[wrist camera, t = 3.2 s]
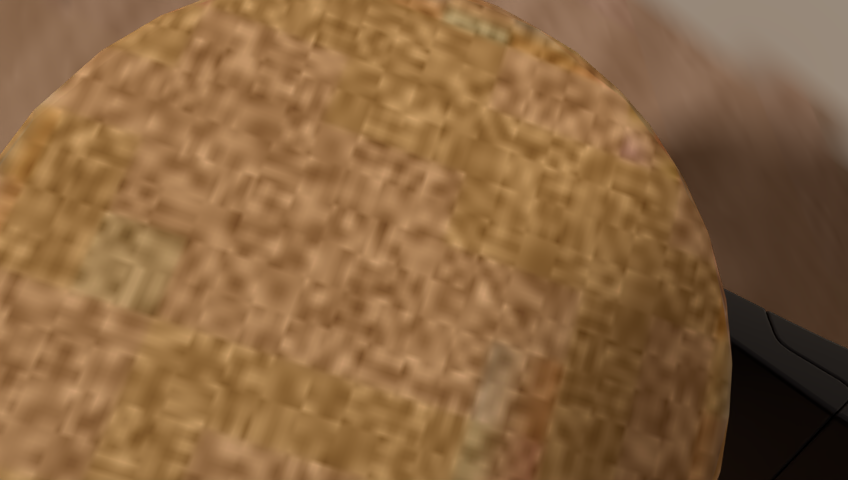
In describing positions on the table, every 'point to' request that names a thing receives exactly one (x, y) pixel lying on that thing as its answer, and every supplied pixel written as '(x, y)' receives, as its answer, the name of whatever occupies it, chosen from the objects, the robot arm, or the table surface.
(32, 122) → the bottle
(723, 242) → the table surface
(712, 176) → the table surface
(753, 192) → the table surface
